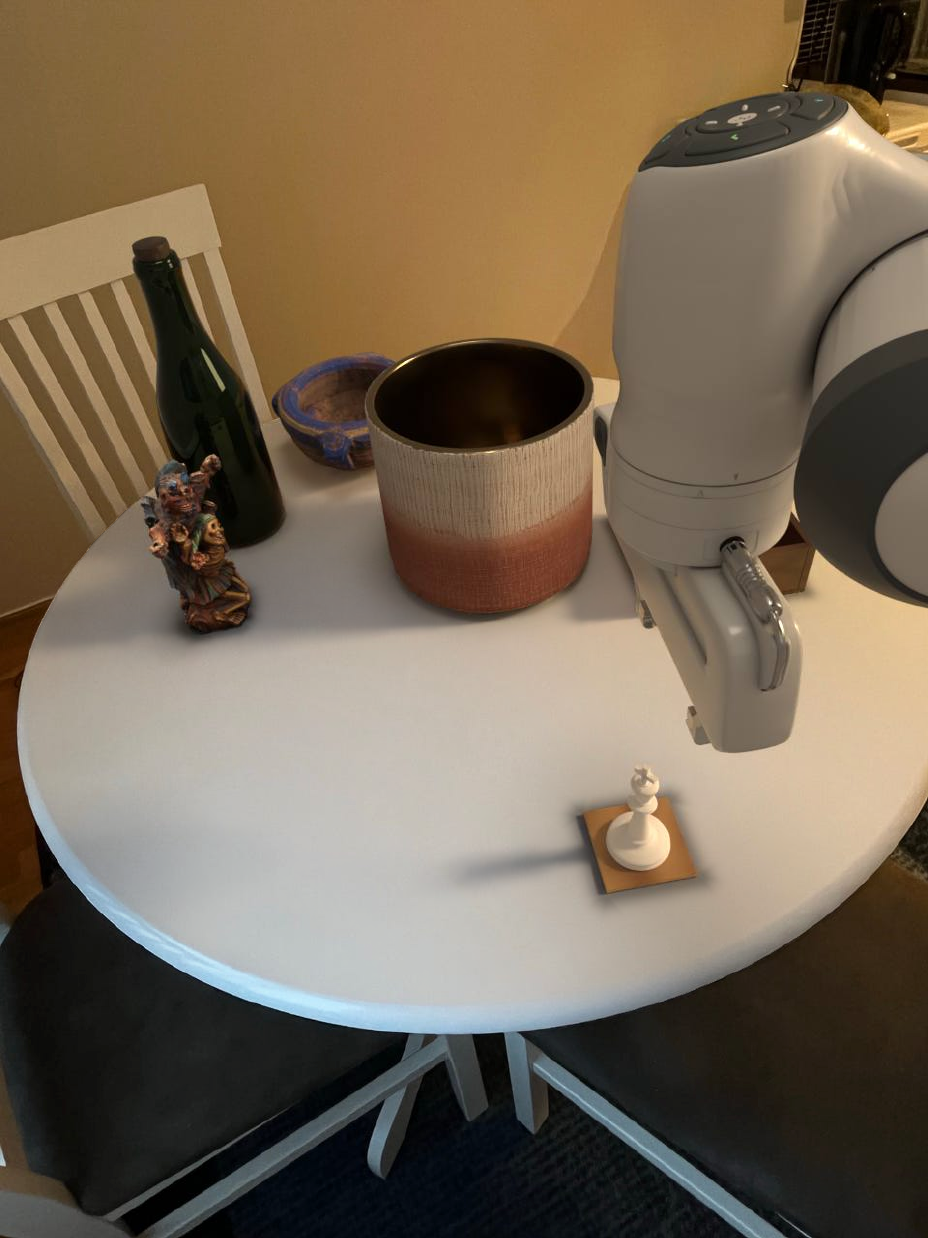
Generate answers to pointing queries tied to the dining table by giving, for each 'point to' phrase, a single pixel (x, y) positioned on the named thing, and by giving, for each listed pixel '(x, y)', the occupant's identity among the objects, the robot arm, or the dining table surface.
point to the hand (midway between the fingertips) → (676, 673)
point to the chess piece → (639, 827)
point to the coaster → (624, 878)
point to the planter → (485, 471)
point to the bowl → (331, 410)
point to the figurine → (195, 548)
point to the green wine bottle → (206, 402)
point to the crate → (790, 559)
